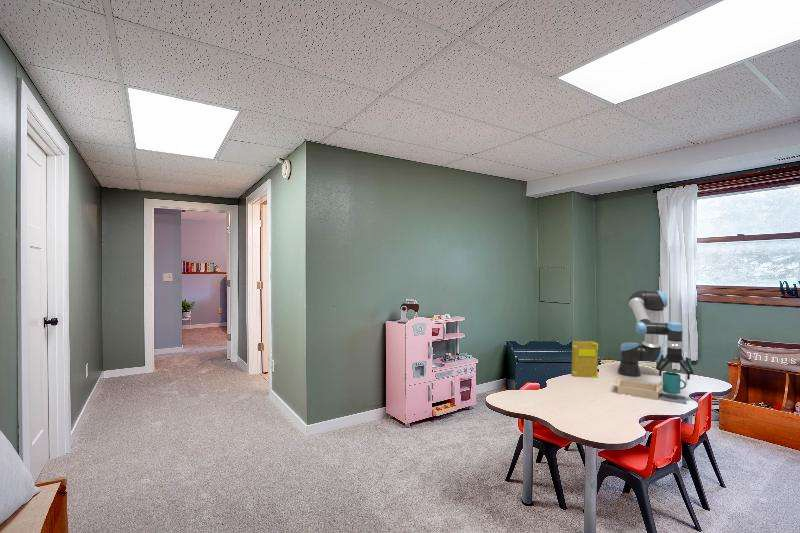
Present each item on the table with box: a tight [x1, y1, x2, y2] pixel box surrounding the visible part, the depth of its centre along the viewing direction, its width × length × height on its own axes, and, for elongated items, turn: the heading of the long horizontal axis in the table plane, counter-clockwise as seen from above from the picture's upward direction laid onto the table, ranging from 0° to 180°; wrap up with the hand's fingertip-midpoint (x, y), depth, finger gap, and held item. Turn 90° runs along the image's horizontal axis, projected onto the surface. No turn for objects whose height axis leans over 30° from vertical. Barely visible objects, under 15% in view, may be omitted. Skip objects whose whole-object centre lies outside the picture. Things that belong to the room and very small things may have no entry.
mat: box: [661, 392, 688, 405], centre depth 245 cm, size 15×12×1 cm
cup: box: [662, 371, 687, 395], centre depth 245 cm, size 9×12×11 cm
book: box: [571, 340, 599, 379], centre depth 294 cm, size 17×7×25 cm, turn 84°
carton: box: [613, 374, 663, 401], centre depth 255 cm, size 18×26×8 cm
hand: (674, 383), depth 245 cm, fingers closed on cup, 12 cm apart
